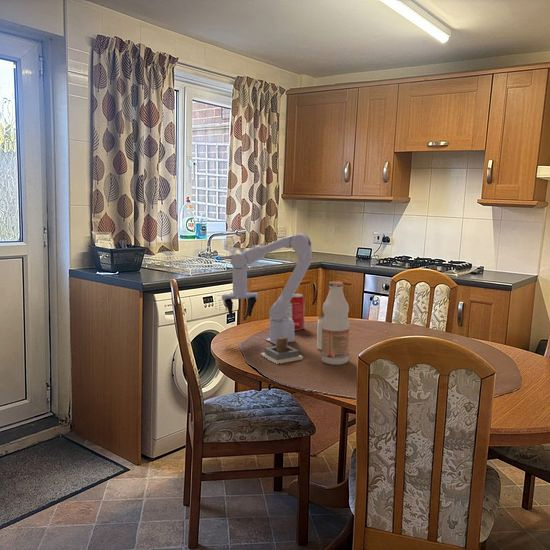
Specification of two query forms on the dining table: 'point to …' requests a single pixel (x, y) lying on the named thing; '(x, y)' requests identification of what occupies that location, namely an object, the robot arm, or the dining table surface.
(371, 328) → the dining table surface
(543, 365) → the dining table surface
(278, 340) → the peg
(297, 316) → the soda can
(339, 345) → the fruit juice
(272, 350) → the socket block
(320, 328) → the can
